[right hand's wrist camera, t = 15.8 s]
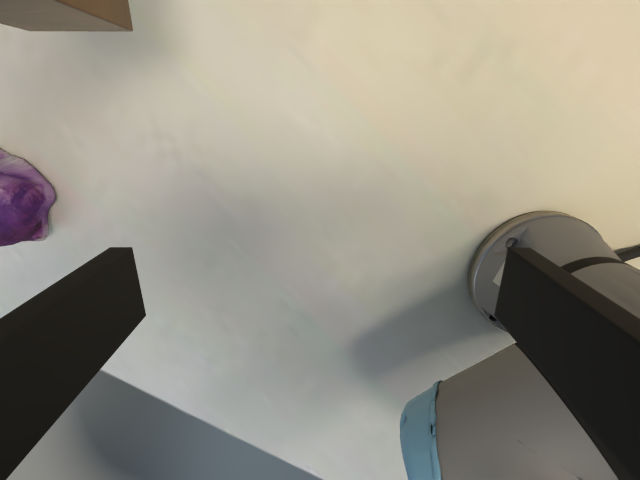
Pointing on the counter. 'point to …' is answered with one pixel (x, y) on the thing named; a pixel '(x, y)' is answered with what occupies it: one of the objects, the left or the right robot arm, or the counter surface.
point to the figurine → (23, 201)
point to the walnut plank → (66, 15)
